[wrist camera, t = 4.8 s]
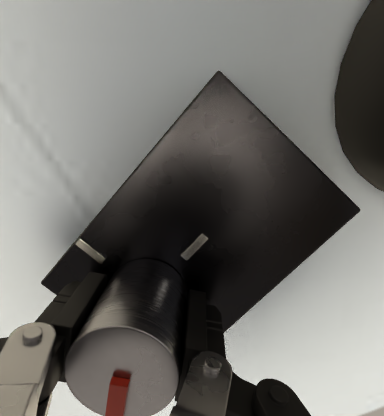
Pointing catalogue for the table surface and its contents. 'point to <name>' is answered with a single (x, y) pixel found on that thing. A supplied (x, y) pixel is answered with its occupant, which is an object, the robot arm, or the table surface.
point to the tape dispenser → (363, 97)
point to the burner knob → (131, 342)
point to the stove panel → (215, 207)
